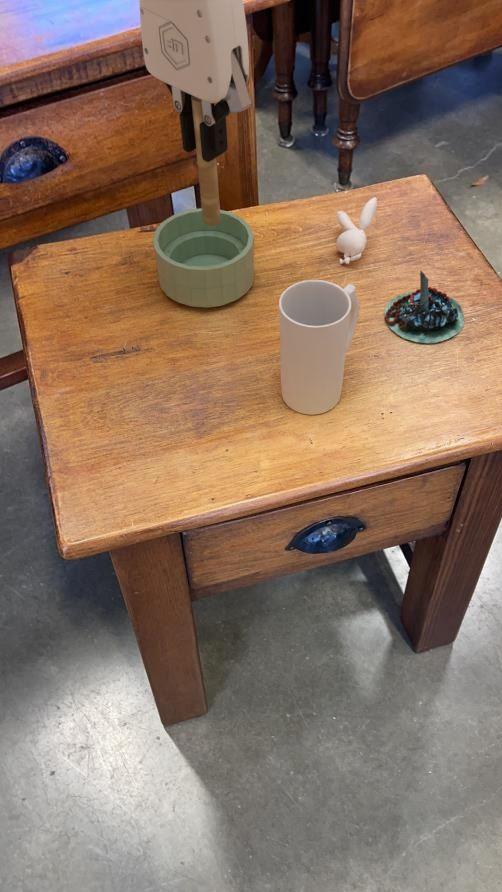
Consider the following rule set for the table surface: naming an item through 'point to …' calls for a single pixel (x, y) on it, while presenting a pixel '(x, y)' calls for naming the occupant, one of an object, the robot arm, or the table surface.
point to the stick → (206, 173)
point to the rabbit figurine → (355, 232)
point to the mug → (315, 343)
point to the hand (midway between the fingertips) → (205, 149)
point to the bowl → (204, 258)
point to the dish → (424, 314)
